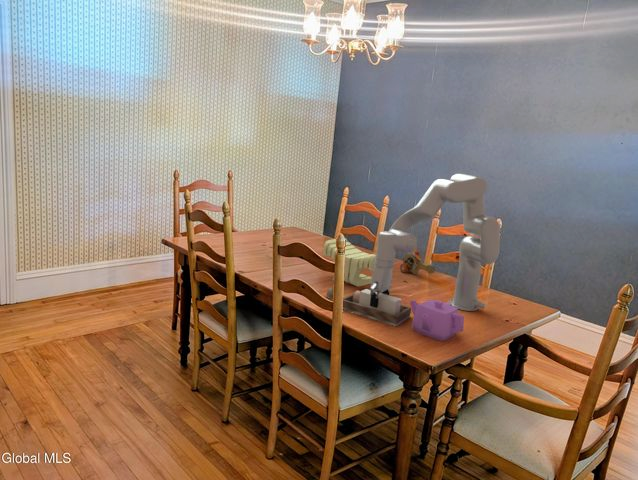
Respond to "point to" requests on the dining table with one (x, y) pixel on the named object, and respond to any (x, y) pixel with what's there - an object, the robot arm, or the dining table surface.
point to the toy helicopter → (415, 264)
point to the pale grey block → (384, 303)
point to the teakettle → (436, 319)
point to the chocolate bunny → (330, 291)
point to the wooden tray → (376, 312)
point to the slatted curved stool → (352, 262)
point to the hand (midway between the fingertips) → (379, 303)
